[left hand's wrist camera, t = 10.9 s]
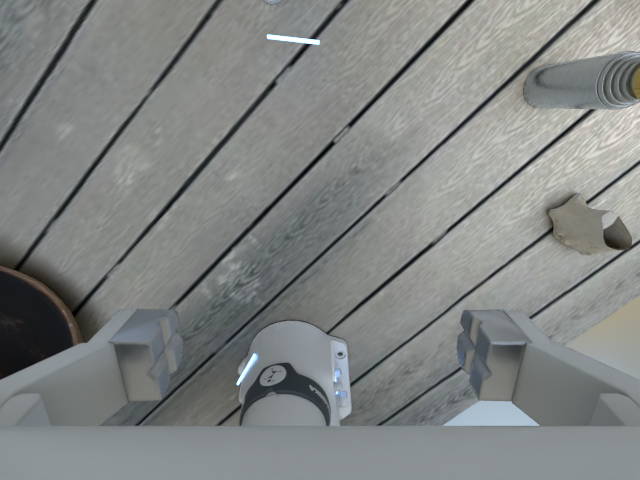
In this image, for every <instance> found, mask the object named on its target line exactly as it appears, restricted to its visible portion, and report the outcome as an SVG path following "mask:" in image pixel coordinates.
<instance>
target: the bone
mask: <svg viewBox="0 0 640 480" xmlns="http://www.w3.org/2000/svg"><path fill="white" fill-rule="evenodd" d="M549 216H550V217H551V218H552V220H553V225H554V229H553V234H554V236H555V238H557V239H558V240H559V241H560V242H561V243H562V244H563V245H564V244H565V245H567V246H570V247H571V248H573V249H575V250H577V251H578V252H579V253H580V254H582V255H590V256H594V255H596V254H599V253H603V252H607V251H608V252H609V251H616V250H627V249H629V248H630V247H631V245H632V238H631V235H630V233H629V231H628V230H627V228H626V227H625V225H624V224H623V222H622V221H621V219H620V217H619V216H618V215H617V214H616V213H614V212H613V211H605V210H596V209H590V208H588V206H587V204H586V202H585V200H584V199H583V197H582V196H581V195H580V194H579V193H577V194H575V195H574V196H573V197H572V198H571V199H570V200H569V201H568V202H567V203H565V204H564V205H563V206H561V207H558V208H555V209H550V211H549Z"/></svg>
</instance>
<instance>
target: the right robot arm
mask: <svg viewBox="0 0 640 480" xmlns="http://www.w3.org/2000/svg"><path fill="white" fill-rule="evenodd" d="M264 1H265V2H267V3H269V4H275V3H278V2H280V1H282V0H264ZM267 38H268V39H275V40H283V41H292V42H301V43H310V44H319V40H311V39H302V38H293V37H284V36H275V35H267Z"/></svg>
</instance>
